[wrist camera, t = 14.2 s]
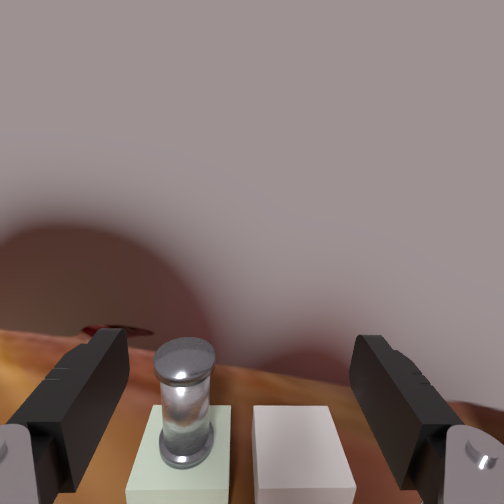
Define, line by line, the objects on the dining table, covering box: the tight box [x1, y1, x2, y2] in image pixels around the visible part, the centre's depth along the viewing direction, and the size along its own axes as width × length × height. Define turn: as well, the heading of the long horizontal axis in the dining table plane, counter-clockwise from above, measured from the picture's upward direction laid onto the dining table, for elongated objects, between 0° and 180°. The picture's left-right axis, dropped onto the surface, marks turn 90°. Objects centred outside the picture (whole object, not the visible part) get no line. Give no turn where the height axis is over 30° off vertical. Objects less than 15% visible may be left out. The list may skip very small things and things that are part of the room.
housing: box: [154, 337, 215, 470], centre depth 31 cm, size 6×6×12 cm
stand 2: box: [251, 406, 357, 504], centre depth 35 cm, size 10×10×5 cm
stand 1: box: [125, 405, 231, 504], centre depth 34 cm, size 10×10×5 cm
